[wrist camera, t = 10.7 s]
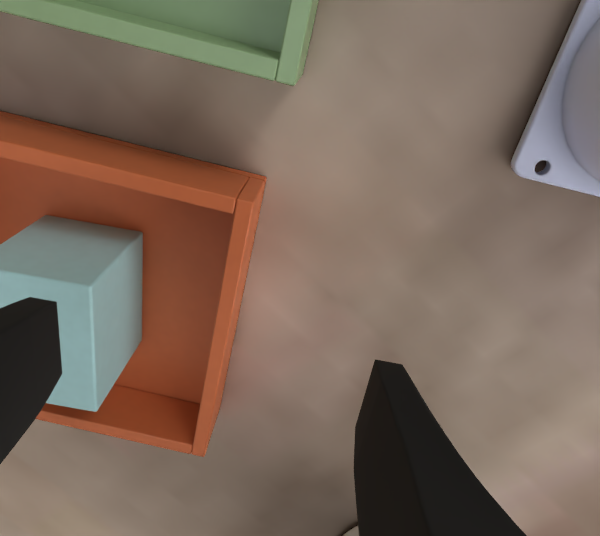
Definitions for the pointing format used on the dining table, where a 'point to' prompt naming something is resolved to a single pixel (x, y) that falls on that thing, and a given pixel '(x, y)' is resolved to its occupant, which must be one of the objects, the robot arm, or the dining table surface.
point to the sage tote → (194, 29)
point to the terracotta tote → (146, 266)
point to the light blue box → (81, 298)
